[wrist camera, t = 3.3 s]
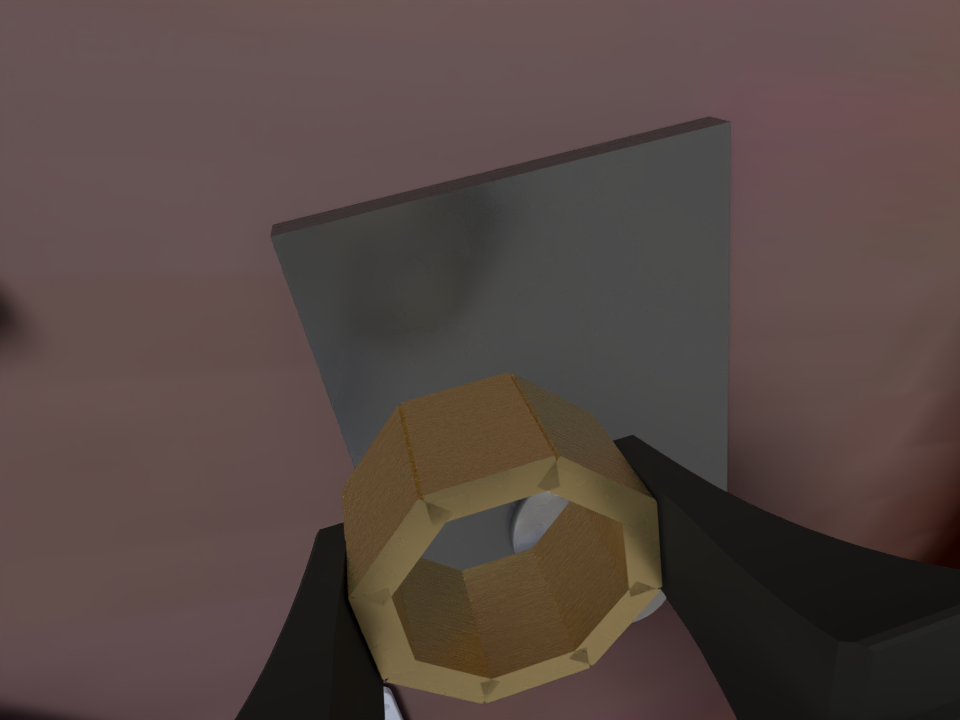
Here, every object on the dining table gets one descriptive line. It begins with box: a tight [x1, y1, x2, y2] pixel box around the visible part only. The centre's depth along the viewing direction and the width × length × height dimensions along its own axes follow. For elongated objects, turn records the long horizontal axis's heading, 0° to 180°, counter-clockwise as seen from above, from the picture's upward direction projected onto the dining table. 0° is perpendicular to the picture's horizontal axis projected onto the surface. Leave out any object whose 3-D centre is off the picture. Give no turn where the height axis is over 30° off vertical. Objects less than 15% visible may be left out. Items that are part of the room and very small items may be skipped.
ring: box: [342, 372, 662, 704], centre depth 13 cm, size 6×6×3 cm
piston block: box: [271, 117, 731, 623], centre depth 22 cm, size 20×14×5 cm
